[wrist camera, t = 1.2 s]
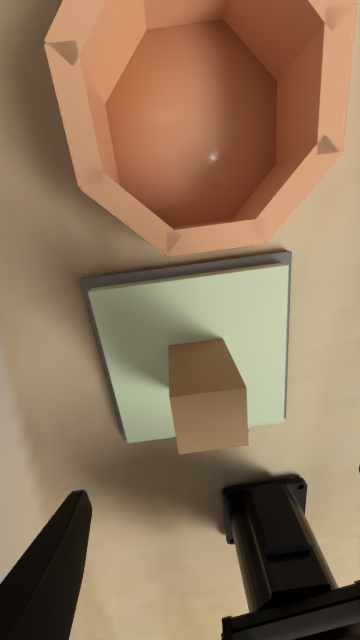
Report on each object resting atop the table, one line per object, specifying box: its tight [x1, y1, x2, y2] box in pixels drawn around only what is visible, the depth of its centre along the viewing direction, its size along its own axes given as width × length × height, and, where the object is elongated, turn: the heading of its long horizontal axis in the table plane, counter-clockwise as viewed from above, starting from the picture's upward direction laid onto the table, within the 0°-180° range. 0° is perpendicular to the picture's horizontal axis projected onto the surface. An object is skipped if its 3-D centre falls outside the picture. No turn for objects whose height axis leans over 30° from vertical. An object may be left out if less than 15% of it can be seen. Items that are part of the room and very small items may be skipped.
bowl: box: [44, 0, 357, 257], centre depth 10 cm, size 9×9×4 cm
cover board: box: [88, 263, 289, 455], centre depth 13 cm, size 10×10×5 cm
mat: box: [80, 251, 292, 440], centre depth 16 cm, size 11×11×1 cm
